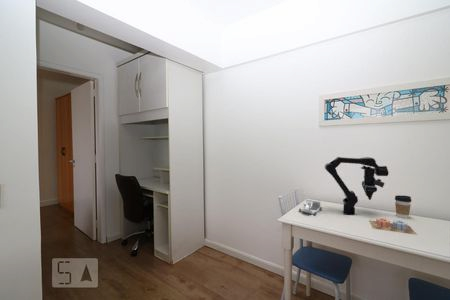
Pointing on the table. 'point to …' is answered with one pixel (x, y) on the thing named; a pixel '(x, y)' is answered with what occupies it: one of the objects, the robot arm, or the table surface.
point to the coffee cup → (402, 206)
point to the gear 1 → (383, 223)
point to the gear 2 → (400, 225)
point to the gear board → (409, 229)
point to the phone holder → (311, 207)
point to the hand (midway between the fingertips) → (368, 197)
